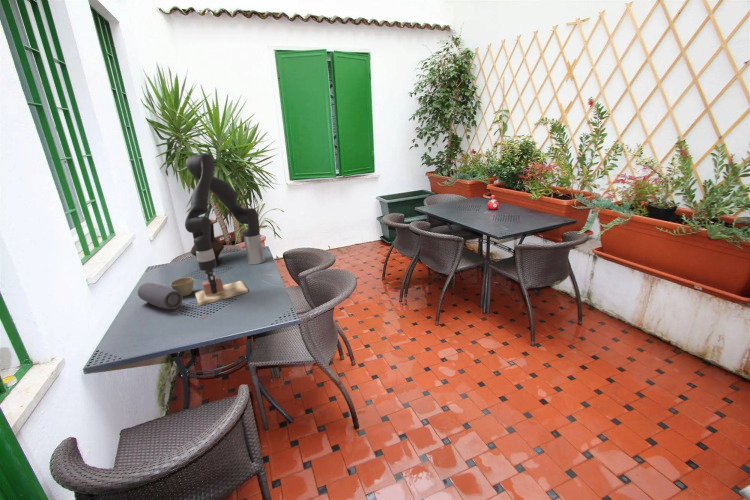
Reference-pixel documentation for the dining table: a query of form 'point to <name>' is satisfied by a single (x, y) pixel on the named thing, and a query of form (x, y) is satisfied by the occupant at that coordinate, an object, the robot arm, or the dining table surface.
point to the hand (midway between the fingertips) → (213, 291)
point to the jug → (215, 243)
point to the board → (222, 293)
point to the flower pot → (183, 285)
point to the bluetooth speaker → (160, 295)
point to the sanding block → (208, 288)
